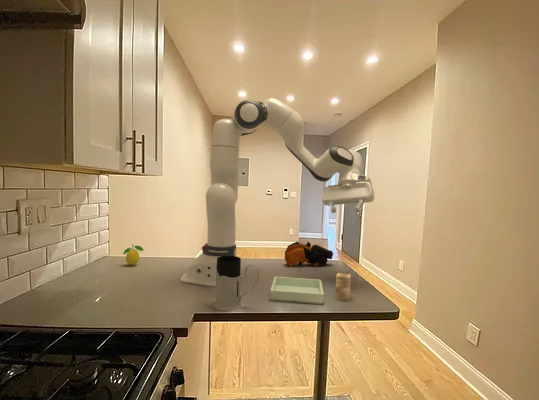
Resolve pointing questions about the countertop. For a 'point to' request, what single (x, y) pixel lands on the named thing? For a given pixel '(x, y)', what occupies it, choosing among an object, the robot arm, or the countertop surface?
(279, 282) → the tray
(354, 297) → the countertop surface
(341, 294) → the block
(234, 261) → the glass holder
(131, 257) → the lemon
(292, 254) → the tool
